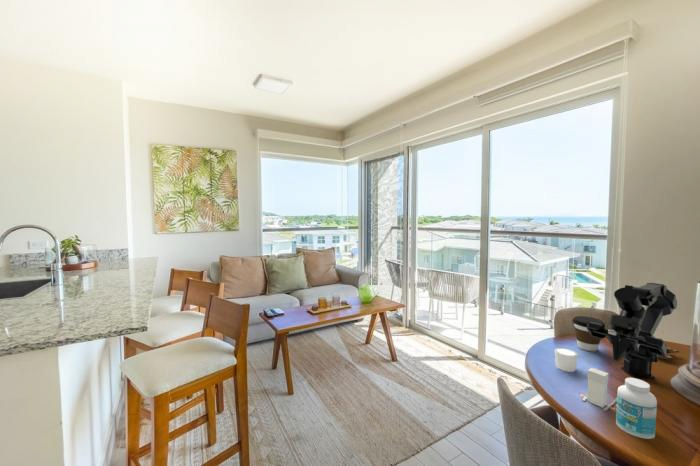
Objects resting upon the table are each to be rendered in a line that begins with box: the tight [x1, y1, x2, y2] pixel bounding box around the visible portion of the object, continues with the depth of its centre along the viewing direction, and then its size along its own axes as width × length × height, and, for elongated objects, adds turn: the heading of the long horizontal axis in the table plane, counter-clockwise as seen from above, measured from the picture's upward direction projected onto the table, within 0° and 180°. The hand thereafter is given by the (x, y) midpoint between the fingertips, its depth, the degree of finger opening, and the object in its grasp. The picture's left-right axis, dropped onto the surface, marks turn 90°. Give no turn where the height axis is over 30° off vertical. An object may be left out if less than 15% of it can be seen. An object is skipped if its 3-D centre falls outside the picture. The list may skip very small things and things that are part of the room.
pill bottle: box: [615, 377, 658, 440], centre depth 78 cm, size 8×7×14 cm
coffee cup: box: [571, 315, 606, 352], centre depth 126 cm, size 11×11×12 cm
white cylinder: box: [554, 347, 579, 373], centre depth 109 cm, size 7×7×7 cm
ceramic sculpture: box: [652, 335, 681, 360], centre depth 121 cm, size 11×9×15 cm
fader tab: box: [586, 367, 609, 409], centre depth 88 cm, size 3×4×10 cm
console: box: [579, 393, 617, 412], centre depth 91 cm, size 14×9×1 cm, turn 121°
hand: (615, 360), depth 95 cm, fingers closed
